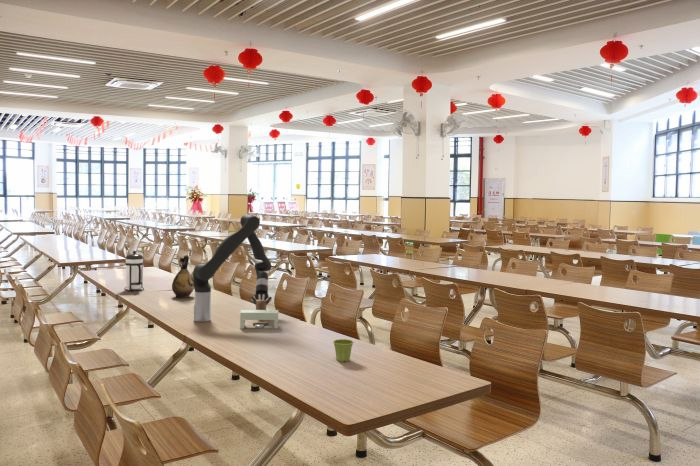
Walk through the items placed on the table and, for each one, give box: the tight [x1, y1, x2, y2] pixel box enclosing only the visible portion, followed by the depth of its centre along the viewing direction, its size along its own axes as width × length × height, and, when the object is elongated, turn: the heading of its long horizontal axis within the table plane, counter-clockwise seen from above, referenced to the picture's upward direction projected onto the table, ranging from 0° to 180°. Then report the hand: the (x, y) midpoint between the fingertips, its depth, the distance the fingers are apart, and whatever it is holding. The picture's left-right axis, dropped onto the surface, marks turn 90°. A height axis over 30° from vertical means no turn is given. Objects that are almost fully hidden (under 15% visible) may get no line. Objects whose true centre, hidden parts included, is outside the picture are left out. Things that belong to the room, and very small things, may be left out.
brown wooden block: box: [252, 299, 269, 326], centre depth 336 cm, size 8×15×12 cm, turn 7°
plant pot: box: [332, 338, 355, 363], centre depth 264 cm, size 9×9×9 cm
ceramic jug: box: [171, 254, 195, 299], centre depth 410 cm, size 17×15×30 cm
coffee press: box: [124, 250, 145, 292], centre depth 431 cm, size 17×16×30 cm
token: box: [254, 324, 265, 329], centre depth 326 cm, size 5×5×1 cm
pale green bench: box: [239, 309, 279, 330], centre depth 324 cm, size 21×8×9 cm, turn 97°
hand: (261, 310), depth 344 cm, fingers closed
